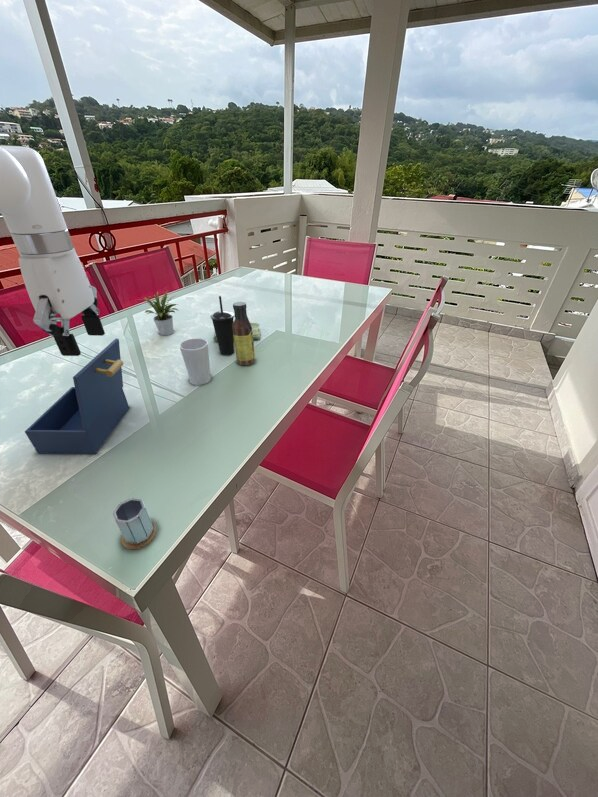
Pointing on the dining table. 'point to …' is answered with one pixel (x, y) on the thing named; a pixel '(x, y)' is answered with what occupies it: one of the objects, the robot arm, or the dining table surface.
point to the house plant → (162, 314)
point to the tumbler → (133, 521)
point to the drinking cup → (224, 330)
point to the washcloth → (254, 329)
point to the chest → (74, 426)
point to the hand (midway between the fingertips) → (84, 344)
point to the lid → (98, 383)
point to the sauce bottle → (243, 335)
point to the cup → (196, 360)
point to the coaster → (134, 547)
